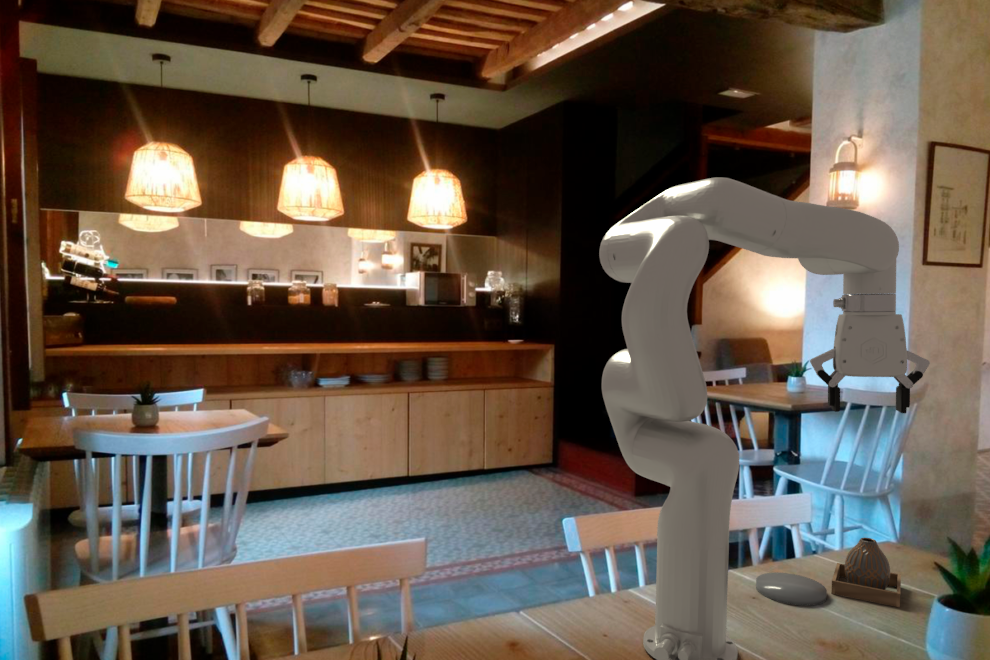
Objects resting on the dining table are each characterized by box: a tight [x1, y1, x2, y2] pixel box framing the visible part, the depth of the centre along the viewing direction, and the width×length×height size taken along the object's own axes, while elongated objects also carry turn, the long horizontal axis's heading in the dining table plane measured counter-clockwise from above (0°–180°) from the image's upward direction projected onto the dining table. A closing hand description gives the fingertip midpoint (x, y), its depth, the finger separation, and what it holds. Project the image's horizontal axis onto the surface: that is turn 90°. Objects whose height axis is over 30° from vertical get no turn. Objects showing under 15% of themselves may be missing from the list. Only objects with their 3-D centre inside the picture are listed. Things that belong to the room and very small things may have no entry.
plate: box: [755, 572, 828, 607], centre depth 119 cm, size 11×11×1 cm
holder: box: [830, 562, 902, 608], centre depth 120 cm, size 10×10×2 cm
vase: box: [844, 537, 891, 590], centre depth 120 cm, size 7×7×9 cm
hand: (867, 411), depth 114 cm, fingers open, 9 cm apart
